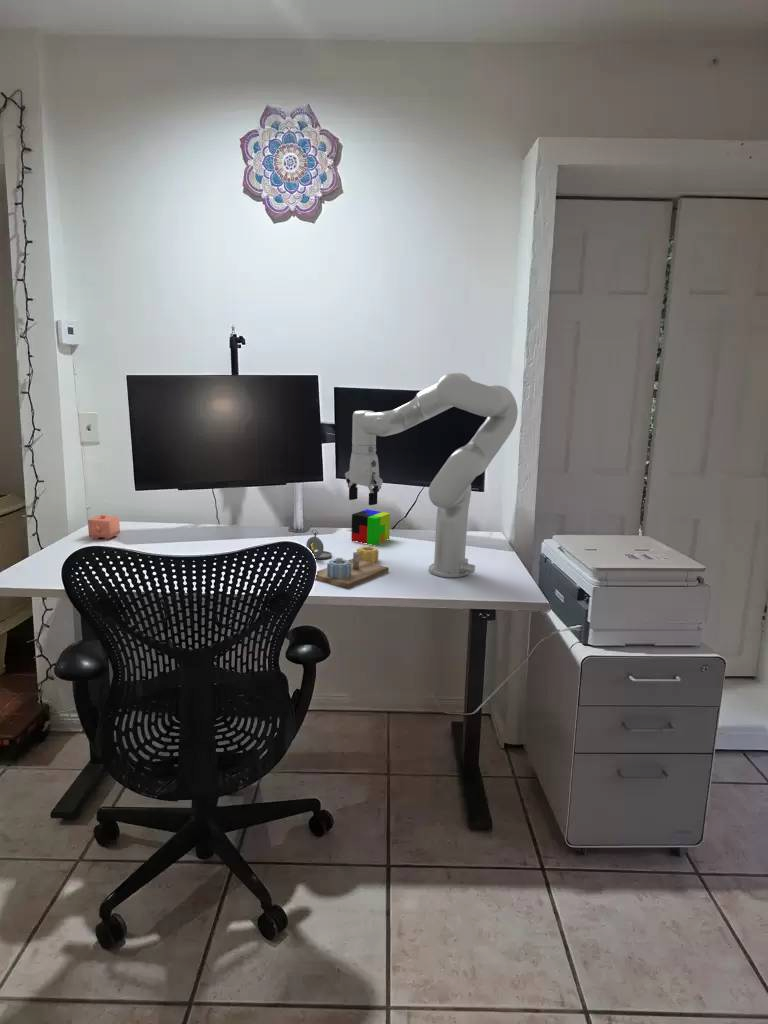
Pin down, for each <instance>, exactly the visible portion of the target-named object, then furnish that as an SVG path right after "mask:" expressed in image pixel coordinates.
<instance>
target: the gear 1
mask: <svg viewBox="0 0 768 1024" xmlns="http://www.w3.org/2000/svg"><path fill="white" fill-rule="evenodd" d="M348 560H349V559H348ZM348 560H347V559H343V558H342V564H336V558H333V559H331V560H329V561H328V562H327V564H326V565H327V567H326V568H327V576H330V577H331V578H338V579H342V578H345V577H346V578H348V577H349V575H351V563H349V561H348Z"/></svg>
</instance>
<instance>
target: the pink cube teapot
mask: <svg viewBox="0 0 768 1024" xmlns="http://www.w3.org/2000/svg"><path fill="white" fill-rule="evenodd" d="M120 525H121V524H120V517H119V516H115V515H107V514H98V515H96V516H94V517H91V518H90V519H89V518H88V520H87V527H88V530H87V531H88V537H90V538H91V537H92V538H94V539H93V540H99V539H100V538H104V540H105V539H110V540H111V538H114V537H113V536H117V535H119V534H121V527H120ZM98 538H99V539H98Z"/></svg>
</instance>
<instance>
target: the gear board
mask: <svg viewBox="0 0 768 1024" xmlns="http://www.w3.org/2000/svg"><path fill="white" fill-rule="evenodd" d="M352 555H353V556H352V558H350V559H348V561H349V563H351V575H349V577H348V578H346V577H345V578H342V579H338V578H331V577H330V576H327V567H325V568H322V569H320V570H318V571H316V572H317V575H316V579H315V580H317V581H319V582H323V583H326V584H330V585H333V586H336V587H340V588H343V589H346V590H348V589H351V588H353V587H355V586H359V585H361V584H363V583H366V582H368V581H371V580H373V579H375V578H378V577H381V576H382V575H385V574H387V573H389V569H390V567H388V566H384V565H380V564H376V563H374V564H373V563H369V562H365V561H361V560H359V552H357V551H354V552H353V553H352ZM335 559H336V564H342V559H343V558H342V557H336V558H335Z"/></svg>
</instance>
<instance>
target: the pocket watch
mask: <svg viewBox="0 0 768 1024" xmlns="http://www.w3.org/2000/svg"><path fill="white" fill-rule="evenodd" d="M313 531H314V532H313ZM311 533H312V534H313V536H311V537H309V538H308V539H307V541H306V545H305V546H306V548H307V547H308V548H309V549H310V550H311V551H312V553H313V554H314V556H315V557H316V558H315V559H318V560H319V559H320V560H324V559H330V558H331V557H332V555H333V554H332V552H330V551H326V550H324V549H325V547H324V543H323V542H322V540H321V539H320V537H317V535H319V532H318V530H315V529H312V530H311Z"/></svg>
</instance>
